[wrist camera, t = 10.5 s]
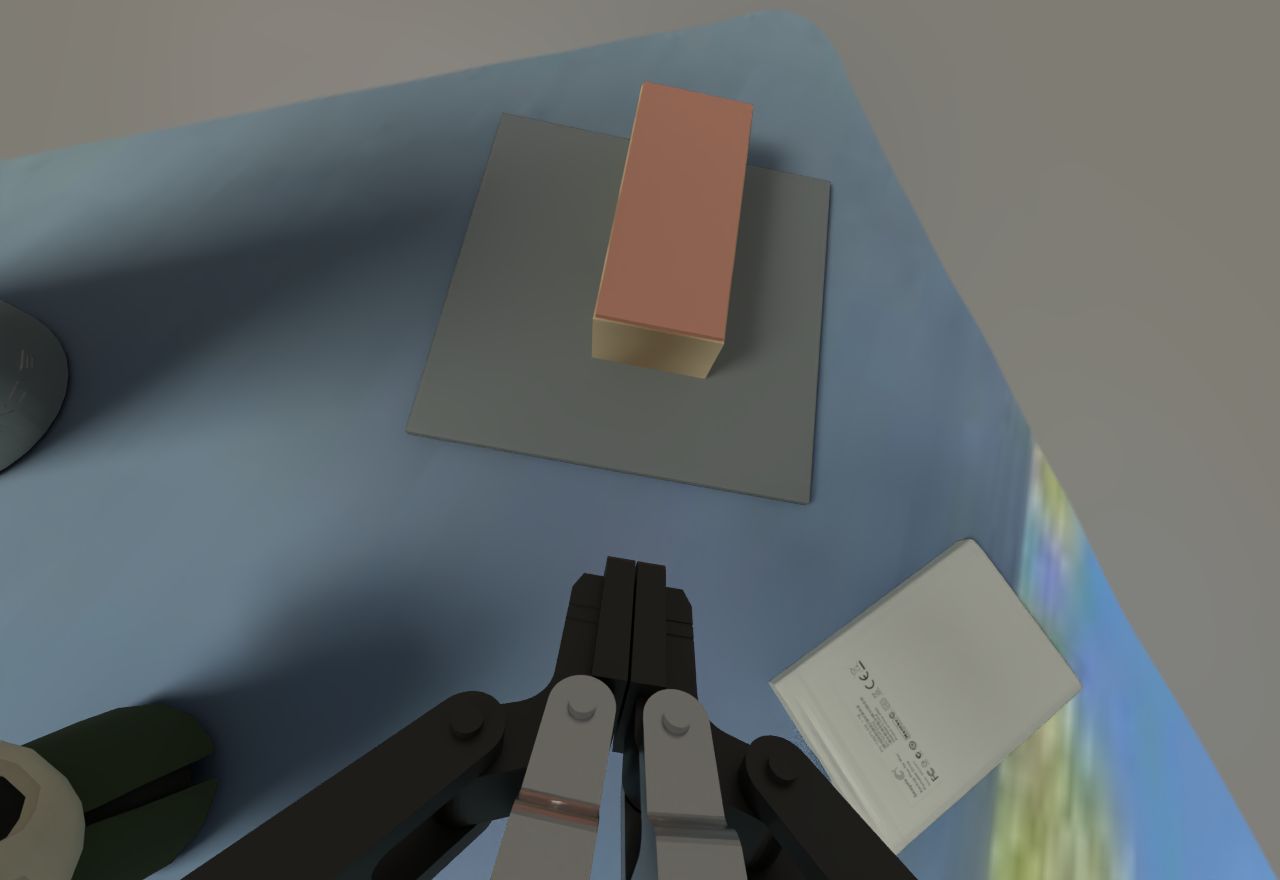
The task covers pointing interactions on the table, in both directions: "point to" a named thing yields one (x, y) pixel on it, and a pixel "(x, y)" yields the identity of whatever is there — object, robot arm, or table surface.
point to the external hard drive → (926, 692)
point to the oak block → (674, 233)
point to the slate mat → (563, 320)
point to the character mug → (103, 796)
